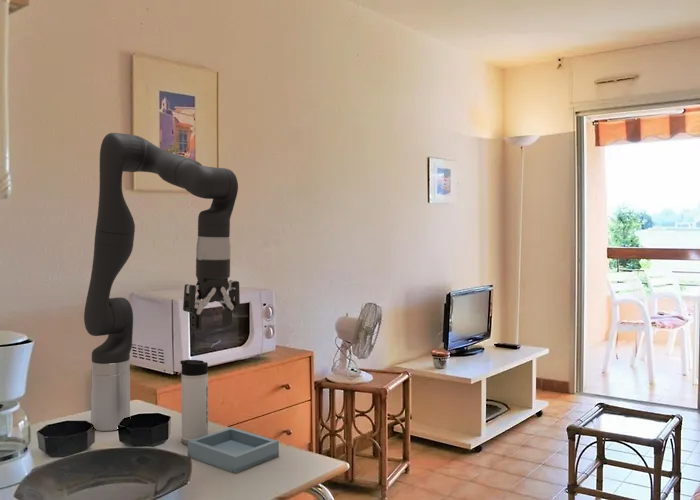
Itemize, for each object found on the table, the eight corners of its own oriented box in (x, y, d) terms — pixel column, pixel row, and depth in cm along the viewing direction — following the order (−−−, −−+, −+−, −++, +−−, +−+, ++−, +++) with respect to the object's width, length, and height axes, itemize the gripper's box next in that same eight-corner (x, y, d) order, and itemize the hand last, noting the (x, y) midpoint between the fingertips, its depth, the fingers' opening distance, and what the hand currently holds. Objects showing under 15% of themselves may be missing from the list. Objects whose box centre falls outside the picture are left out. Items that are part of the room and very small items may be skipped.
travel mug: (175, 440, 158) (175, 359, 157) (200, 435, 163) (199, 355, 162) (188, 447, 154) (187, 363, 153) (213, 441, 158) (212, 359, 157)
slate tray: (187, 456, 148) (187, 441, 148) (231, 441, 158) (231, 427, 158) (235, 473, 138) (235, 457, 138) (278, 456, 148) (278, 441, 148)
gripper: (226, 254, 154) (225, 322, 155) (176, 256, 143) (175, 330, 144) (248, 256, 150) (246, 326, 151) (198, 259, 138) (197, 335, 139)
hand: (211, 328), depth 147 cm, fingers open, 8 cm apart
